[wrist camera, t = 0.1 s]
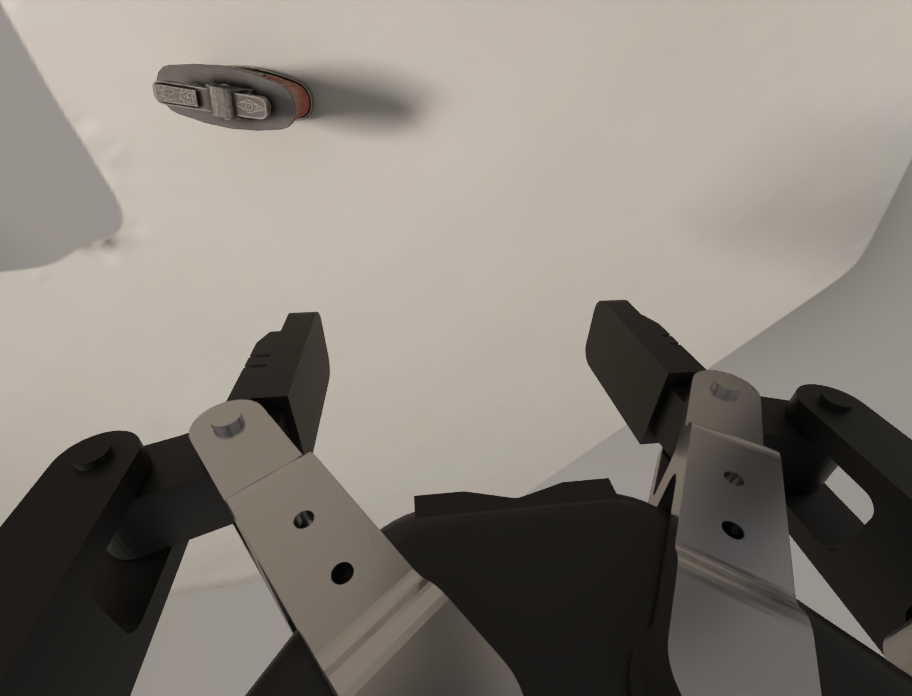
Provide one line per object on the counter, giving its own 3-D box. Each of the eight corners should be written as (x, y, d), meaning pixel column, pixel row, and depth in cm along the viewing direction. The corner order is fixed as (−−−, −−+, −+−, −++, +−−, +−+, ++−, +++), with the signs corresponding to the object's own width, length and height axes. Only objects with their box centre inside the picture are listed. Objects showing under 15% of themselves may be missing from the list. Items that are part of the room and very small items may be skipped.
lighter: (313, 77, 32) (283, 79, 23) (314, 126, 34) (288, 143, 25) (200, 57, 30) (126, 52, 22) (208, 109, 32) (143, 122, 24)
